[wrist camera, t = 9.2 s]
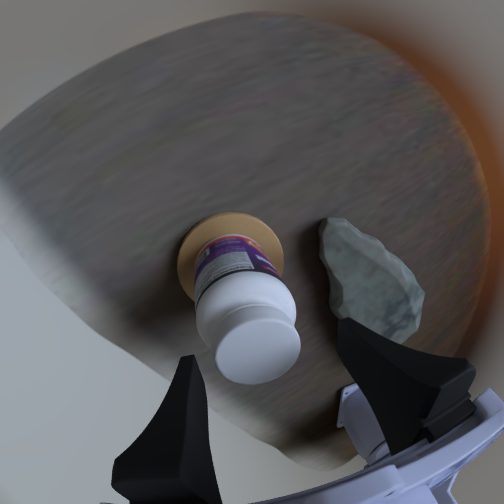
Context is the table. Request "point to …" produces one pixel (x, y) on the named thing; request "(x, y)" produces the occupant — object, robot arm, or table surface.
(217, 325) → the pill bottle
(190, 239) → the coaster
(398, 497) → the robot arm
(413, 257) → the table surface
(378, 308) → the stone
